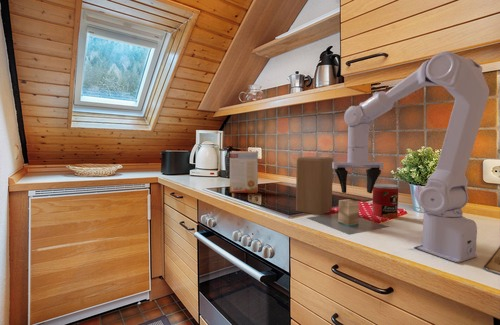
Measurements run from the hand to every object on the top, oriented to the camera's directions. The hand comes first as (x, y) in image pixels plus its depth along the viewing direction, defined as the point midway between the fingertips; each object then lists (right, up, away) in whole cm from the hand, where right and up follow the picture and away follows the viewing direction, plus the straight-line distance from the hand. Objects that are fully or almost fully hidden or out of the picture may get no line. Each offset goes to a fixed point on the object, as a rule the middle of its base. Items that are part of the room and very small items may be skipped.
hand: (356, 192), depth 82 cm
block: (-9, -9, +16) cm, 21 cm away
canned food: (+14, -10, +11) cm, 20 cm away
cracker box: (-35, -6, +58) cm, 68 cm away
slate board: (-3, -10, +1) cm, 10 cm away
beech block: (-3, -9, -1) cm, 10 cm away
